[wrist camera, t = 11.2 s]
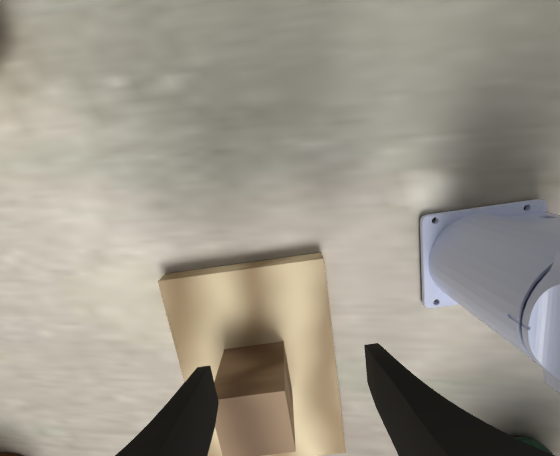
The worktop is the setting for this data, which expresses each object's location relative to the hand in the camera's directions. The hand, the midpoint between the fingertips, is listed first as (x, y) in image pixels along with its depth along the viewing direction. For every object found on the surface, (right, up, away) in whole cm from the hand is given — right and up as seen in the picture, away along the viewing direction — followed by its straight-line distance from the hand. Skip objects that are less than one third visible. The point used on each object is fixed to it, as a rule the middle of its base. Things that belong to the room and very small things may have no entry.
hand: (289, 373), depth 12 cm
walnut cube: (-2, -5, +10) cm, 12 cm away
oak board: (-2, -5, +12) cm, 13 cm away
